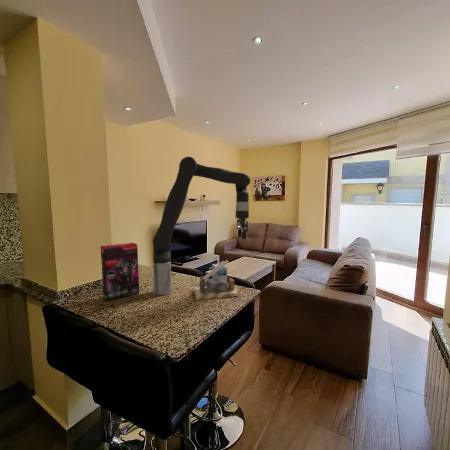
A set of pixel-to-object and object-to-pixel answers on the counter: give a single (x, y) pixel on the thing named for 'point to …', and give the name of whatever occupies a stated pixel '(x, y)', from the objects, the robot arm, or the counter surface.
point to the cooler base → (213, 295)
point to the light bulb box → (219, 272)
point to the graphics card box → (119, 270)
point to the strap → (215, 269)
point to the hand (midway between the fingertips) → (241, 238)
